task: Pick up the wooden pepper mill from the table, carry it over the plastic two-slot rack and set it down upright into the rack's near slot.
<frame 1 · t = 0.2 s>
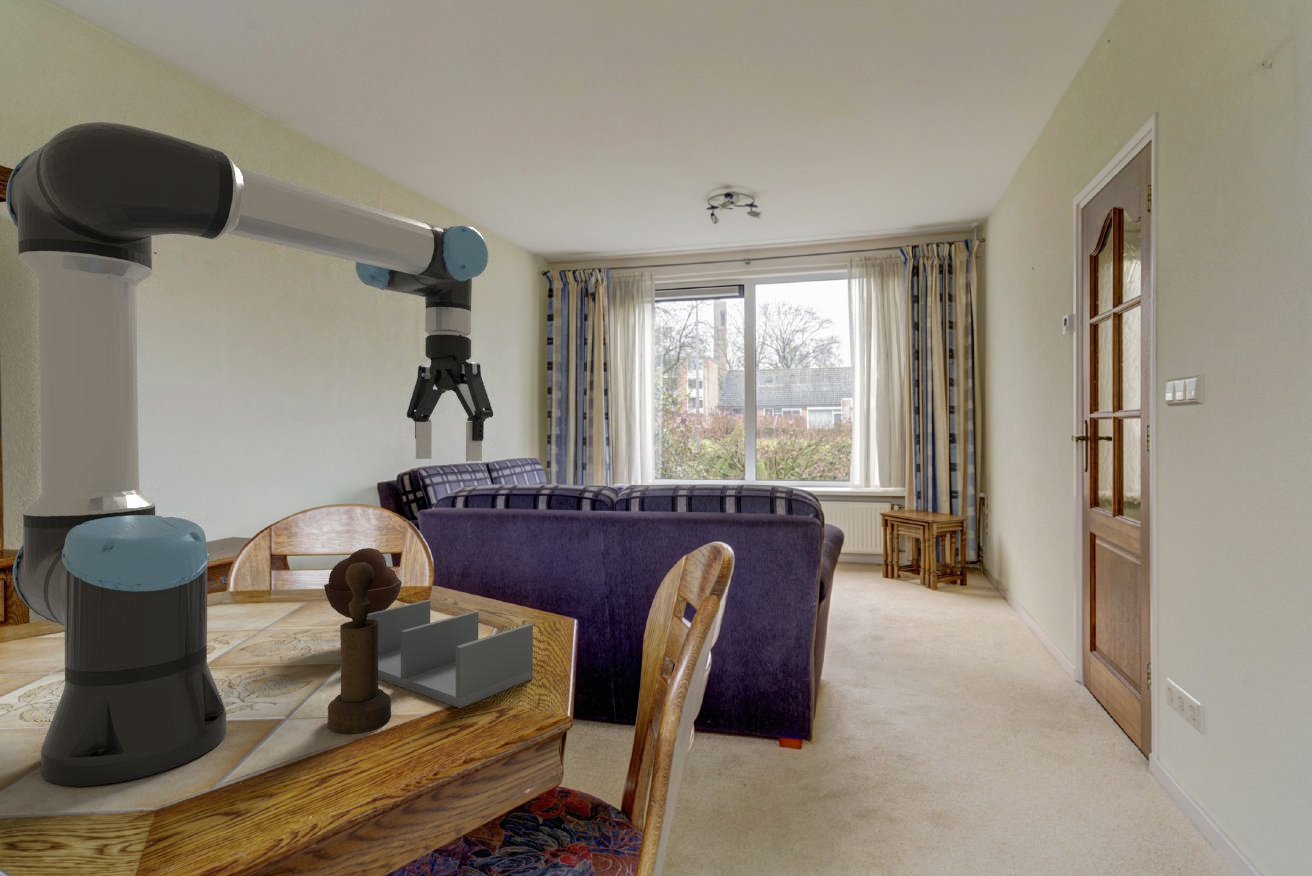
hand: (447, 460, 117), 28 cm above the table, fingers open, 13 cm apart
wooden pepper mill: (359, 723, 77), on the table
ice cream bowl: (363, 646, 105), on the table
slot rack: (441, 674, 93), on the table
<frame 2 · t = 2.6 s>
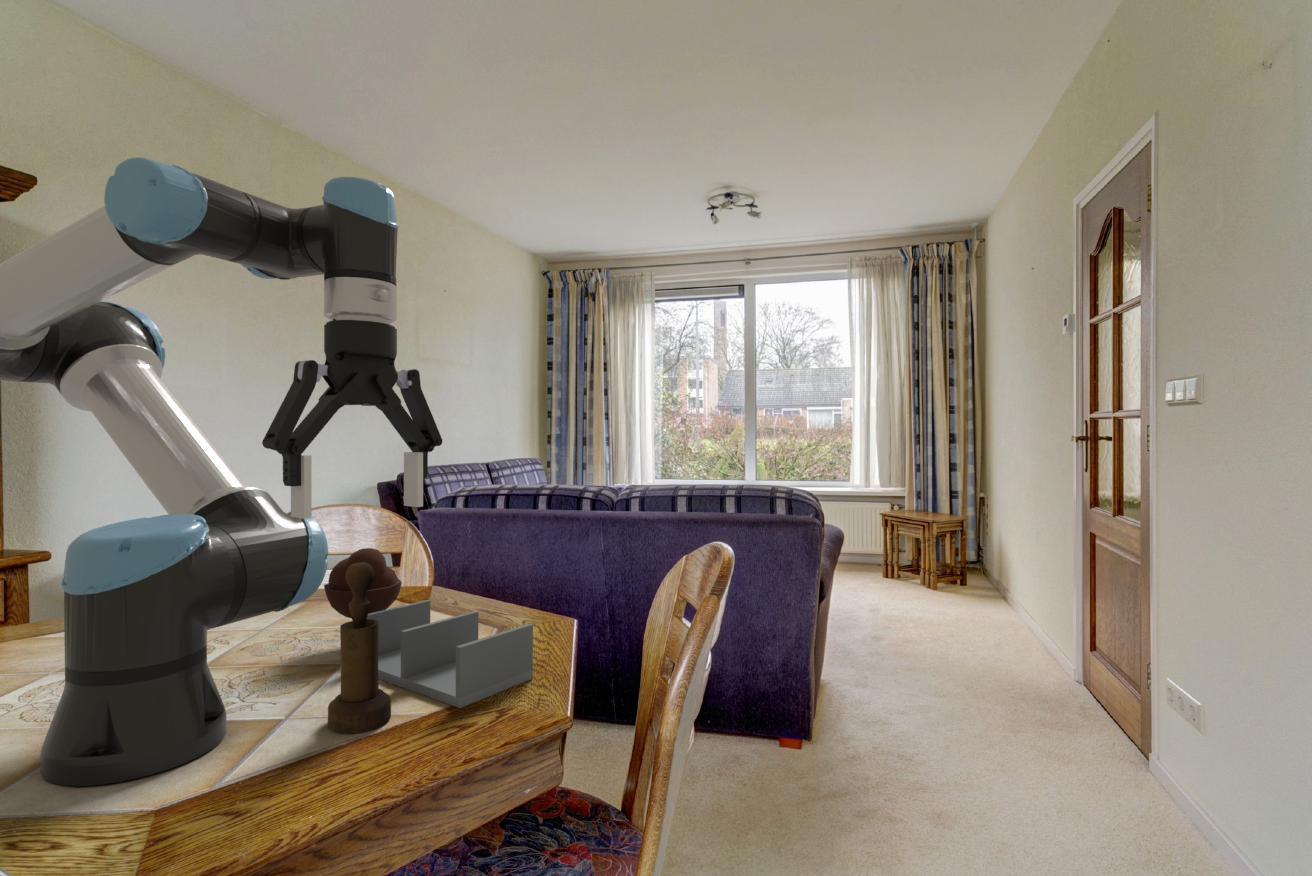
hand: (361, 511, 77), 24 cm above the table, fingers open, 13 cm apart
nothing on the table moved.
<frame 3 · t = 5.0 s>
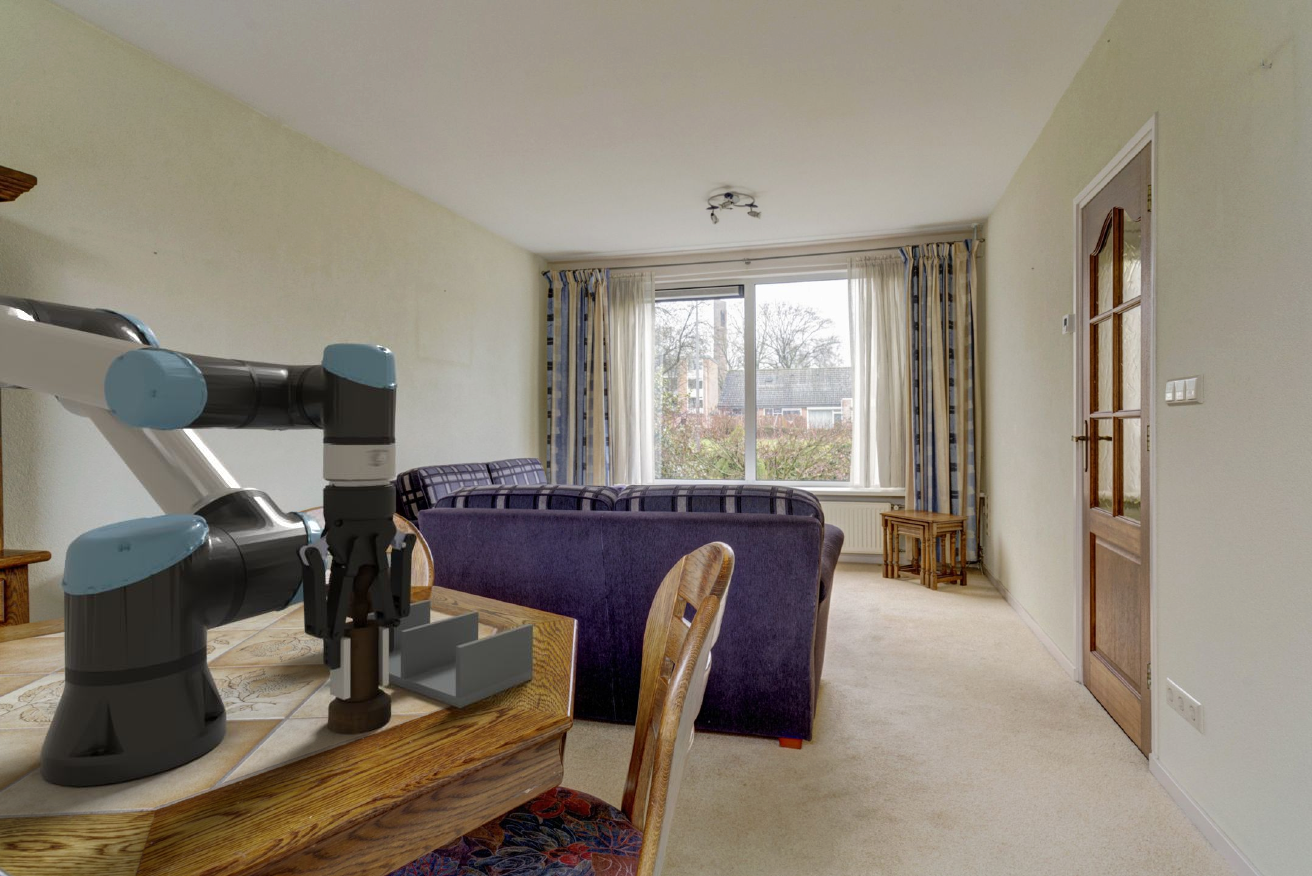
hand: (359, 688, 77), 4 cm above the table, fingers closed on wooden pepper mill, 4 cm apart
wooden pepper mill: (360, 723, 77), on the table, touching gripper
everything else where it was.
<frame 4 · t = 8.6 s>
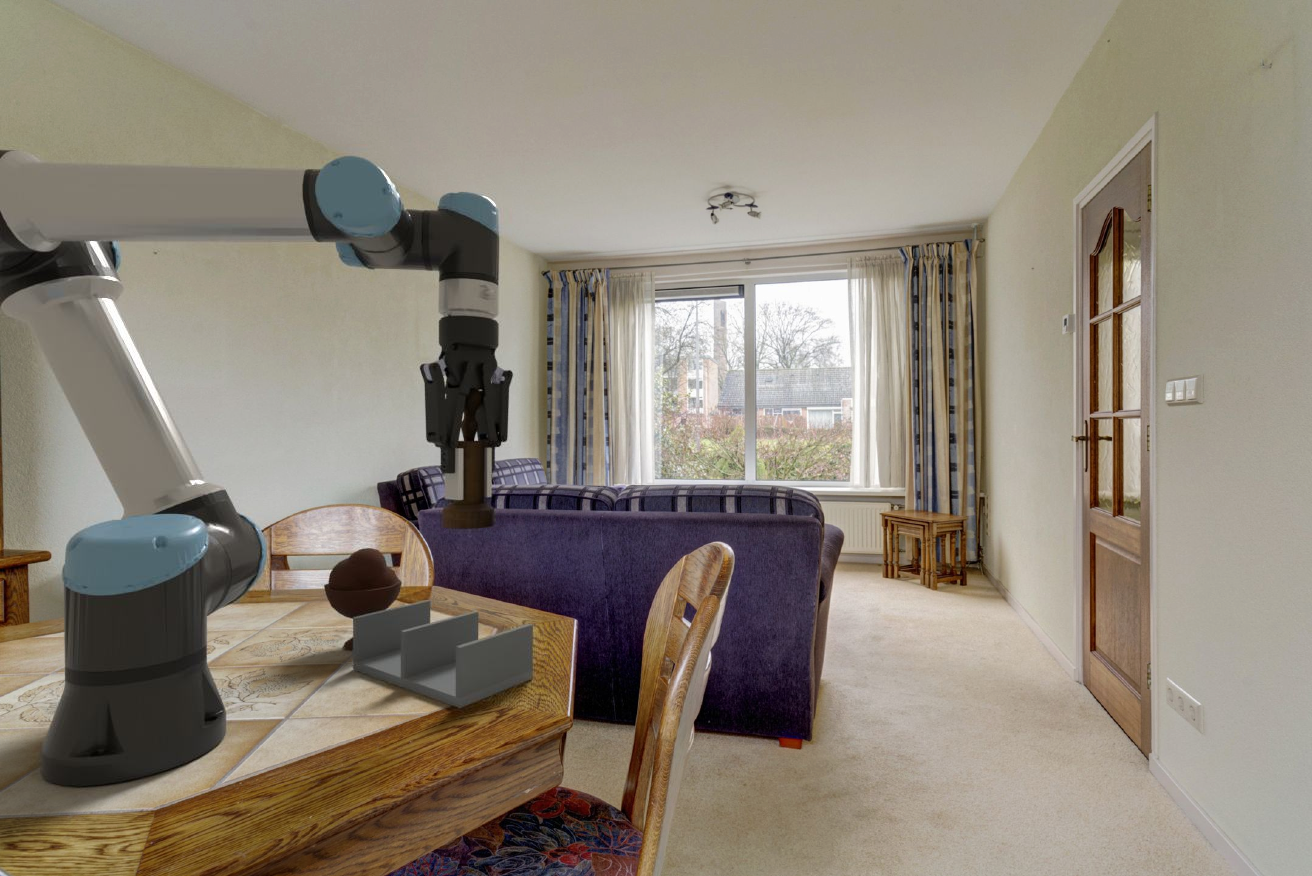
hand: (468, 497, 89), 24 cm above the table, fingers closed on wooden pepper mill, 4 cm apart
wooden pepper mill: (468, 527, 89), point 20 cm above the table, touching gripper
everything else where it was.
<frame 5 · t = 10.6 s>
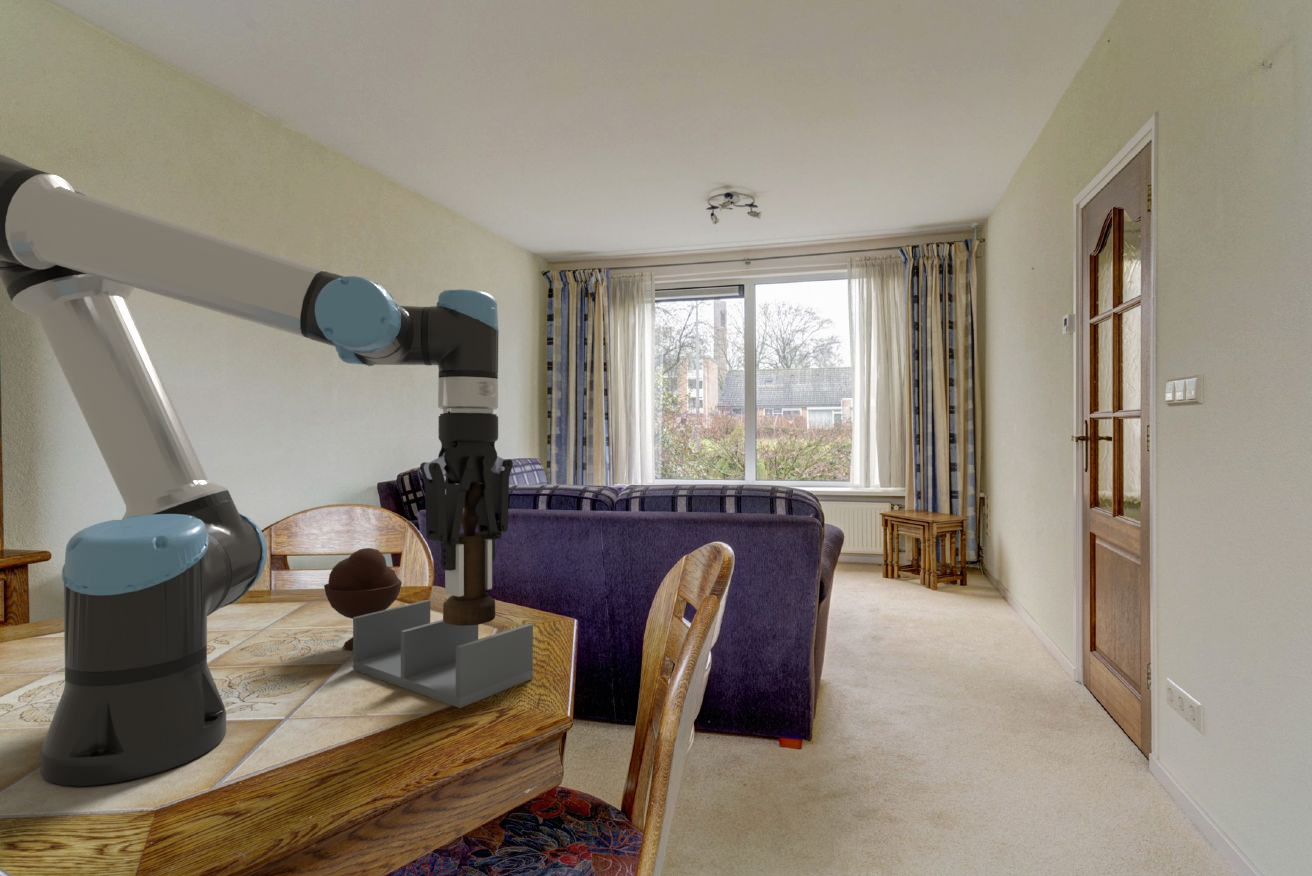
hand: (469, 590, 89), 12 cm above the table, fingers closed on wooden pepper mill, 4 cm apart
wooden pepper mill: (469, 620, 89), point 8 cm above the table, touching gripper
everything else where it was.
when the fingers open (7 cm above the table, at t = 12.4 s): wooden pepper mill drops 2 cm, resting on slot rack.
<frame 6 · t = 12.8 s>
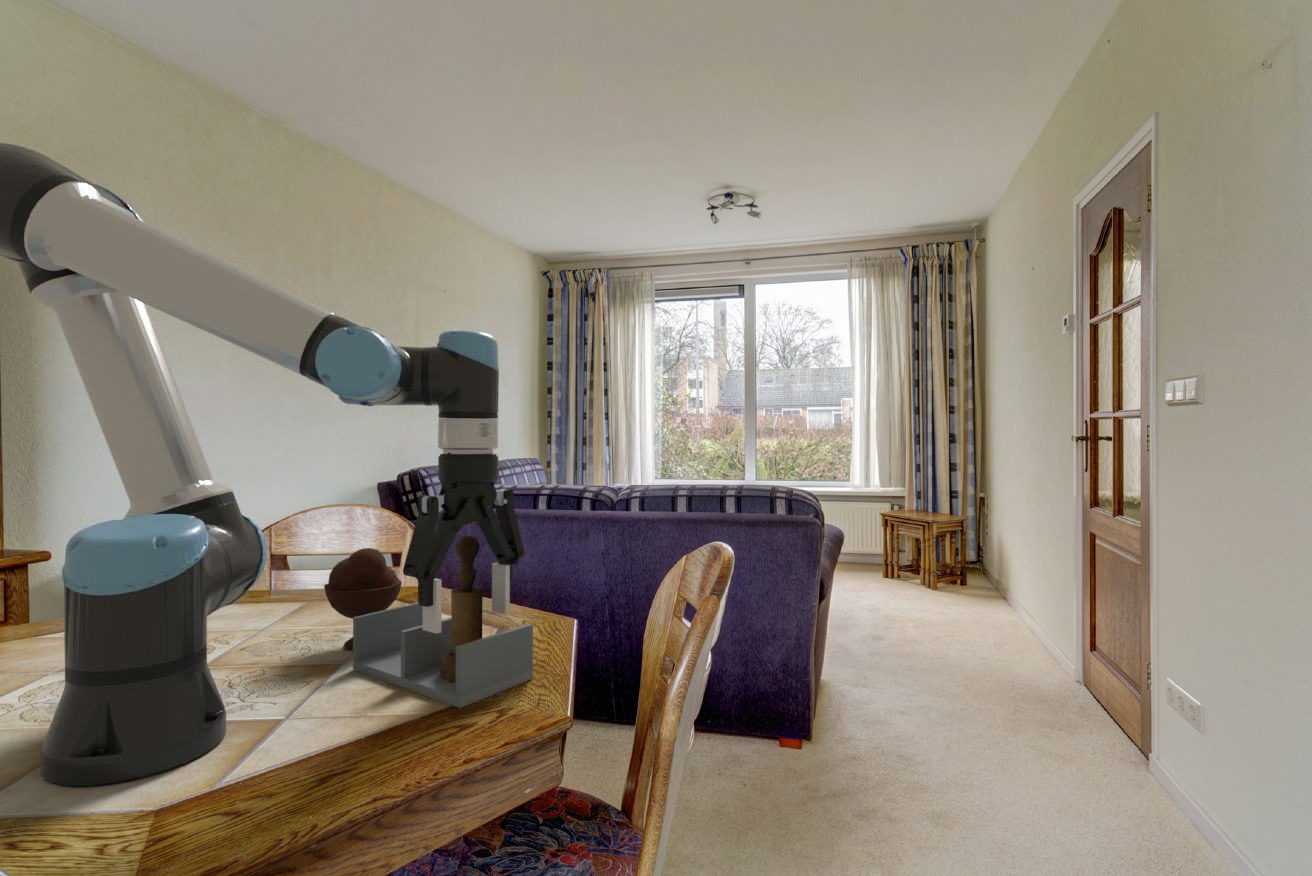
hand: (468, 621, 89), 8 cm above the table, fingers open, 10 cm apart
wooden pepper mill: (466, 675, 89), point 1 cm above the table, touching slot rack
everything else where it was.
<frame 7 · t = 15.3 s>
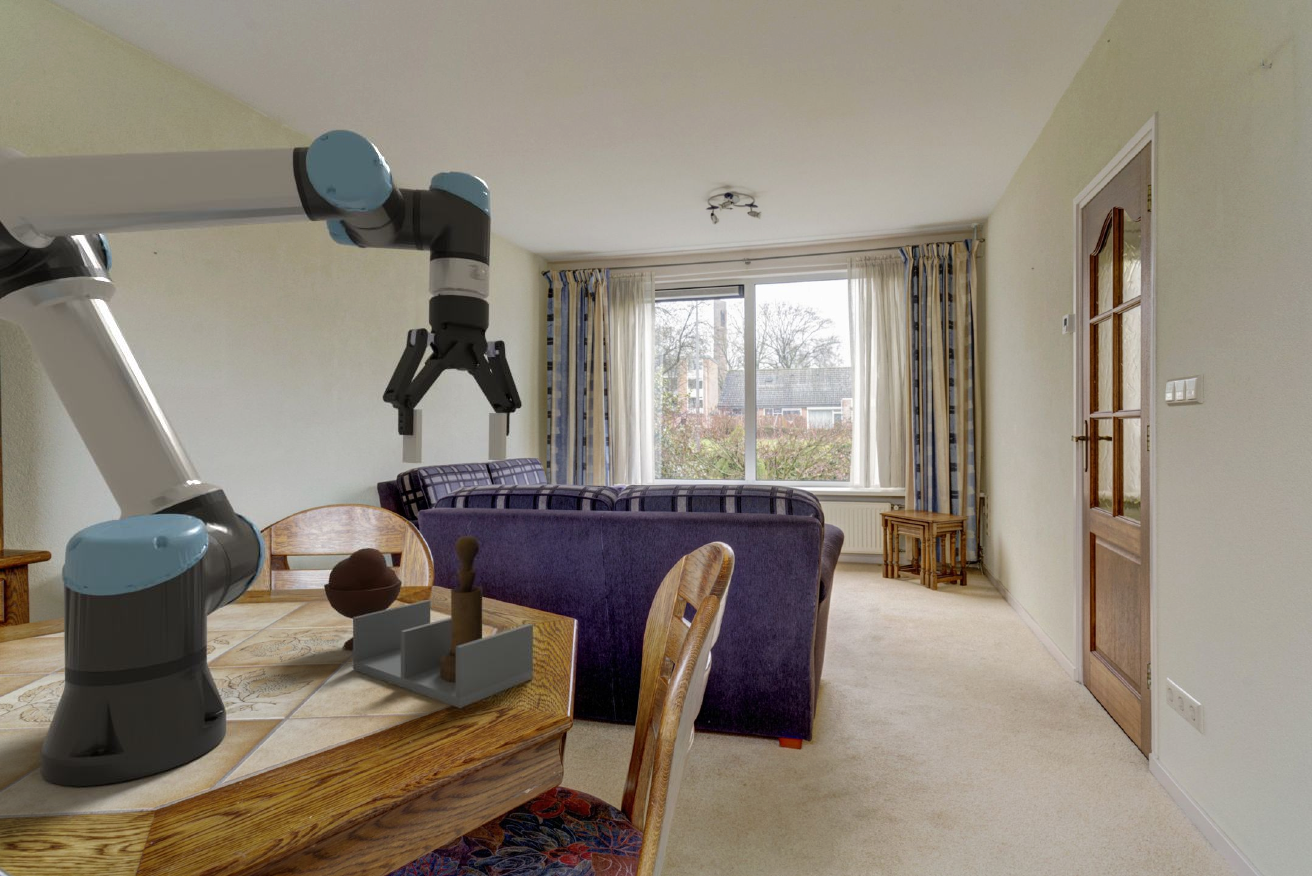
hand: (457, 461, 89), 29 cm above the table, fingers open, 13 cm apart
nothing on the table moved.
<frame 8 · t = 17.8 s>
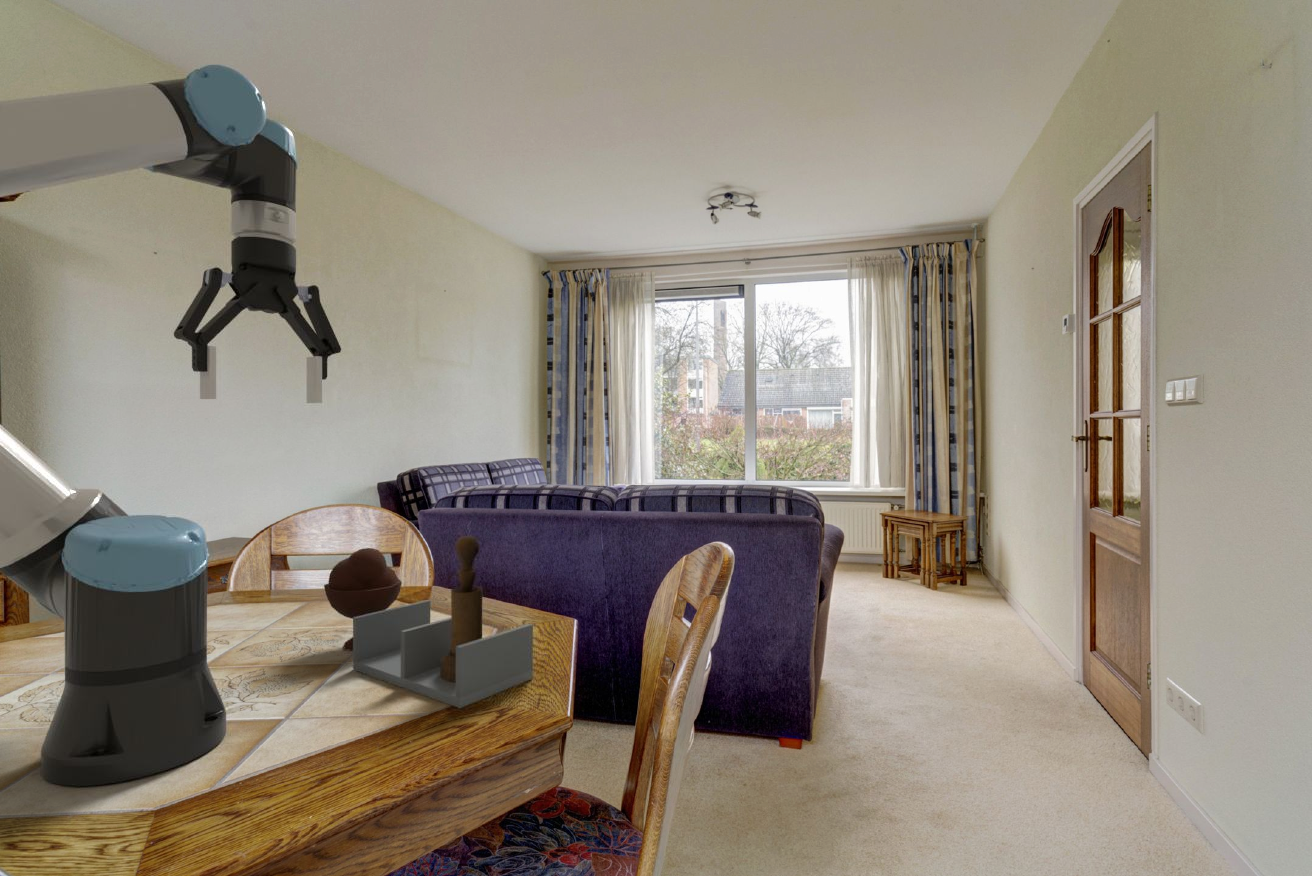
hand: (264, 401, 92), 37 cm above the table, fingers open, 13 cm apart
nothing on the table moved.
at the end: wooden pepper mill inside the target area on the slot rack (0.2 cm from its centre), point 1.0 cm above the slot rack's base; wooden pepper mill tilted 0°; the gripper is holding nothing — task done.
